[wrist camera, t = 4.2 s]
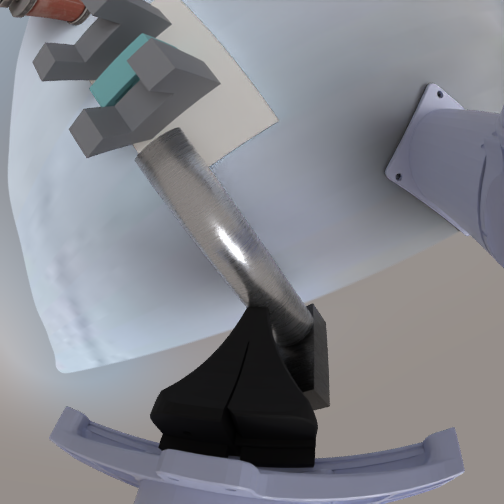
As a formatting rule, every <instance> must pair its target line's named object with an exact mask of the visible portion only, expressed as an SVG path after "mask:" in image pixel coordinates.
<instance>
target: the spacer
mask: <svg viewBox="0 0 504 504" xmlns="http://www.w3.org/2000/svg"><path fill="white" fill-rule="evenodd" d="M150 38H153V39H155V40H158V41H160V42H163V41H161V40H159V39H156V38H154V37H151V36H149V35H146V34H144V33H142V34H141V35H139V36H138V37H137V38H136V39H135V40H134V41H133V42H132V43H131V44H130V45H129V46H128V47H127V48H126V49H125V50H124V51H123V52H122V53H121V54H120V55H119V56H118V57H117V58H116V59H115V60H114V61H113V62H112V63H111V64H110V65H109V66H108V67H107V69H106V70H105V71H104V72H103V73H102V74H101V75H100V76H99V78H98V79H97V80H96V81H95V82H94V83H93V85H92V86H91V87H90V88H89V89H90V91H91V92H92V94H93V95H94V97H95V99H96V100H97V102H98V103H99V105H100V106H101V107H108V106H115V105H116V104H117V103H118V102H119V101H120V100H121V99H122V97H123V96H124V95H125V94H126V93H127V92H128V91H129V90H130V89H131V88H132V87H133V86H134V85H135V84H136V83H137V82H138V81H139V80H140V78H139V77H138V76H137V74H136V73H135V72H134V70H133V69H132V68H131V66H130V65H129V64H128V62H127V60H128V59H129V58H130V57H131V56H132V55H133V54H134V53H135V52H136V51H137V50H138V49H139V48H140V47H141V46H143V45H144V44H145V43H146V42H147V41H148V40H149V39H150ZM163 43H165V44H167V45H170V44H168V43H166V42H163ZM170 46H172V45H170ZM172 47H174V48H176V47H175V46H172ZM176 49H177V48H176Z"/></svg>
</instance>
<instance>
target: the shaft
mask: <svg viewBox="0 0 504 504" xmlns="http://www.w3.org/2000/svg"><path fill="white" fill-rule="evenodd" d="M135 162H136V163H137V165H138V166H139V168H140V169H141V170H142V172H143V173H144V175H145V176H146V177H147V179H148V180H149V182H150V183H151V184H152V186H153V187H154V188H155V190H156V191H157V193H158V194H159V195H160V197H161V198H162V199H163V201H164V202H165V204H166V205H167V206H168V208H169V209H170V210H171V212H172V213H173V214H174V216H175V217H176V218H177V220H178V221H179V222H180V224H181V225H182V226H183V228H184V229H185V230H186V232H187V233H188V234H189V235H190V237H191V238H192V239H193V241H194V242H195V243H196V245H197V246H198V247H199V248H200V250H201V251H202V252H203V254H204V255H205V256H206V257H207V259H208V260H209V261H210V263H211V264H212V265H213V266H214V268H215V269H216V270H217V271H218V273H219V274H220V275H221V277H222V278H223V279H224V280H225V282H226V283H227V284H228V285H229V287H230V288H231V289H232V290H233V291H234V293H235V294H236V295H237V296H238V298H239V299H240V300H241V301H242V303H243V304H244V305H245V306H246V307H248V306H252V307H267V308H269V313H270V323H271V329H272V333H273V336H274V339H275V342H276V345H277V348H278V350H279V353H280V355H281V357H282V359H283V361H284V363H285V365H286V367H287V369H288V371H289V373H290V374H291V376H292V378H293V379H294V381H295V382H296V384H297V385H298V387H299V388H300V390H301V391H302V392H303V394H304V395H305V396H306V397H307V399H308V400H309V402H310V404H311V407H312V409H313V410H317V409H321V408H325V407H329V406H330V403H329V402H330V401H329V368H328V348H327V334H326V322H325V321H324V319H323V318H322V316H321V315H320V313H319V312H318V310H317V309H316V307H315V306H314V304H310V305H308V306H305V305H304V303H303V302H302V300H301V299H300V297H299V296H298V294H297V293H296V291H295V290H294V288H293V287H292V285H291V284H290V283H289V281H288V280H287V278H286V277H285V275H284V274H283V272H282V271H281V269H280V268H279V267H278V265H277V264H276V262H275V261H274V259H273V258H272V256H271V255H270V254H269V252H268V251H267V249H266V248H265V246H264V245H263V244H262V242H261V241H260V239H259V238H258V236H257V235H256V233H255V232H254V231H253V229H252V228H251V226H250V225H249V223H248V222H247V221H246V219H245V218H244V216H243V215H242V213H241V212H240V211H239V209H238V208H237V206H236V205H235V204H234V202H233V201H232V199H231V198H230V196H229V195H228V194H227V192H226V191H225V189H224V188H223V187H222V185H221V184H220V182H219V181H218V180H217V178H216V177H215V175H214V174H213V173H212V171H211V170H210V168H209V167H208V166H207V164H206V163H205V161H204V160H203V159H202V157H201V156H200V154H199V153H198V152H197V150H196V149H195V147H194V146H193V145H192V143H191V142H190V140H189V139H188V138H187V136H186V135H185V134H184V132H183V131H182V129H181V128H180V127H177V128H174V129H172V130H170V131H168V132H166V133H164V134H162V135H161V136H159V137H158V138H156V139H155V140H154V141H152V142H151V143H150V144H149V145H147V146H146V147H145V148H144V149H143V150H142V151H141V152H140V153H139V154H138V155H137V157H136V158H135Z"/></svg>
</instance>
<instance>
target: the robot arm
mask: <svg viewBox="0 0 504 504" xmlns="http://www.w3.org/2000/svg"><path fill="white" fill-rule="evenodd" d="M438 91H439V92H440V95H441V96H440V98H439V97H438V95H437V92H438ZM399 173H400V178H399V179H398V180H396V175H397V174H399ZM385 175H386V177H387V178H388V179H390V180H391V181H393V182H394V183H396V184H397V185H399V186H400V187H402V188H403V189H405V190H406V191H408V192H409V193H411V194H412V195H414V196H415V197H416V198H418V199H419V200H421V201H422V202H423V203H425V204H426V205H428V206H429V207H430V208H432V209H433V210H434V211H436V212H437V213H438V214H440V215H441V216H442V217H443V218H445V219H446V220H447V221H449V222H450V223H451V224H452V225H454V226H455V227H456V228H457V229H458V230H460V231H461V232H462V233H463V234H465V235H466V236H469V235H471V236H472V237H473V238H474V239H475V240H476V241H477V242H478V243H479V244H480V245H481V246H482V247H483V248H484V249H485V250H486V251H487V252H488V253H489V254H490V255H491V256H492V257H493V258H494V259H495V260H496V261H497V262H498V263H499V264H500V265H501V266H502V267H503V268H504V106H503V109H502V111H501V113H500V114H499V113H492V112H484V111H474V110H465V109H464V108H463V107H462V106H461V105H460V104H459V103H458V102H457V101H456V100H454V99H453V98H452V97H451V96H450V95H449V94H448V93H446V92H445V91H444V90H443V89H442V88H440V87H439V86H438V85H437V84H435V83H430V84H428V85H427V87H426V89H425V91H424V94H423V96H422V98H421V100H420V102H419V105H418V107H417V109H416V111H415V113H414V115H413V117H412V119H411V121H410V123H409V125H408V127H407V129H406V131H405V133H404V135H403V137H402V139H401V141H400V143H399V145H398V147H397V149H396V151H395V153H394V155H393V157H392V159H391V160H390V162H389V164H388V166H387V168H386V170H385ZM150 418H151V420H152V421H153V423H154V424H155V425H156V426H157V428H158V429H159V430H160V431H161V432H162V433H163V435H162V438H161V441H160V443H157V442H153V441H149V440H146V439H142V438H139V437H135V436H132V435H129V434H126V433H122V432H120V431H117V430H113V429H111V428H108V427H105V426H102V425H100V424H97V423H95V422H92V421H90V420H89V419H88V417H87V416H85V415H84V414H83V413H81V412H80V411H77V410H75V409H73V408H71V407H68V406H66V408H65V409H64V411H63V413H62V414H61V417H60V418H59V420H58V422H57V424H56V425H55V428H54V429H53V431H52V433H51V435H50V437H49V439H50V440H51V441H52V442H53V443H55V444H56V445H57V446H58V447H60V448H61V449H62V450H64V451H65V452H67V453H68V454H69V455H71V456H72V457H74V458H75V459H77V460H79V461H81V462H83V463H84V464H86V465H88V466H90V467H92V468H94V469H96V470H98V471H101V472H103V473H105V474H107V475H109V476H111V477H113V478H116V479H118V480H120V481H123V482H125V483H127V484H130V485H132V486H135V487H137V488H139V489H138V492H137V495H136V498H135V501H134V504H385V503H389V502H393V501H397V500H401V499H404V498H407V497H411V496H414V495H418V494H421V493H424V492H427V491H430V490H433V489H435V488H438V487H440V486H442V485H444V484H446V483H447V482H449V481H451V480H453V479H454V478H456V477H457V476H459V475H461V474H462V473H464V471H465V470H464V465H463V460H462V455H461V451H460V447H459V442H458V439H457V434H456V431H455V428H454V427H452V428H449V429H446V430H443V431H440V432H436V433H434V434H431V435H429V436H428V437H427V438H426V439H425V440H424V441H423V442H421V443H417V444H413V445H409V446H405V447H400V448H395V449H391V450H385V451H380V452H374V453H367V454H360V455H353V456H344V457H332V458H318V459H317V458H316V459H315V446H316V434H317V429H318V425H317V420H316V417H315V414H314V411H313V409H312V407H311V404H310V402H309V400H308V399H307V397H306V396H305V395H304V394H303V392H302V391H301V390H300V388H299V387H298V385H297V384H296V382H295V381H294V379H293V378H292V376H291V374H290V373H289V371H288V369H287V367H286V365H285V363H284V361H283V359H282V357H281V355H280V353H279V350H278V348H277V345H276V342H275V339H274V336H273V333H272V329H271V323H270V313H269V308H267V307H252V306H248V307H247V309H246V311H245V312H244V314H243V316H242V317H241V319H240V320H239V322H238V323H237V325H236V326H235V328H234V329H233V331H232V332H231V333H230V335H229V336H228V337H227V339H226V340H225V341H224V342H223V343H222V345H221V346H220V347H219V348H218V349H217V350H216V351H215V352H214V353H213V354H212V355H211V356H210V357H209V358H208V359H207V360H206V361H205V362H204V363H203V364H201V365H200V366H199V367H198V368H197V369H195V370H194V371H193V372H191V373H190V374H189V375H187V376H186V377H184V378H183V379H181V380H180V381H178V382H177V383H175V384H173V385H171V386H169V387H168V388H166V389H164V390H162V391H161V392H160V394H159V396H158V397H157V399H156V402H155V404H154V406H153V409H152V412H151V414H150Z"/></svg>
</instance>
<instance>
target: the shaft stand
mask: <svg viewBox="0 0 504 504" xmlns="http://www.w3.org/2000/svg"><path fill="white" fill-rule="evenodd" d="M81 1H82V2H83V4H84V5H85V6H86V8H87V9H88V10H89V12H90V13H91V14H92V15H93V16H96V17H98V19H97V20H96V21H95V22H94V23H93V24H92V25H91V26H90V27H89V28H88V29H87V31H86V32H85V33H84V34H83V35H82V36H81V38H80V39H79V40H78V41H77V42H76V44H75V45H68V44H58V43H45V44H44V45H43V47H42V48H41V50H40V51H39V53H38V54H37V56H36V57H35V59H34V60H33V64H34V67H35V69H36V71H37V73H38V75H39V77H40V79H41V80H42V81H58V80H89V81H90V82H91V84H92V85H93V83H94V82H95V81H96V80H97V79H98V78H99V76H100V75H101V74H102V73H103V72H104V71H105V70H106V69H107V67H108V66H109V65H110V64H111V63H112V62H113V61H114V60H115V59H116V58H117V57H118V56H119V55H120V54H121V53H122V52H123V51H124V50H125V49H126V48H127V47H128V46H129V45H130V44H131V43H132V42H133V41H134V40H135V39H136V38H137V37H138V36H139V35H141V34H142V33H144V34H146V35H149V36H151V37H154V38H156V39H159V40H161V41H163V42H166V43H168V44H170V45H172V46H175V47H176V48H177V49H176V48H174V47H172V46H170V45H167V44H165V43H163V42H160V41H158V40H155V39H153V38H150V39H149V40H148V41H147V42H146V43H145V44H144V45H143V46H141V47H140V48H139V49H138V50H137V51H136V52H135V53H134V54H133V55H132V56H131V57H130V58H129V59H128V60H127V62H128V64H129V65H130V66H131V68H132V69H133V70H134V72H135V73H136V74H137V76H138V77H139V78H140V80H139V81H138V82H137V83H136V84H135V85H134V86H133V87H132V88H131V89H130V90H129V91H128V92H127V93H126V94H125V95H124V96H123V97H122V99H121V100H120V101H119V102H118V103H117V104H116V105H115V106H108V107H96V108H87V109H83V111H82V112H81V113H80V115H79V116H78V117H77V119H76V120H75V121H74V123H73V124H72V126H71V127H70V128H69V130H70V132H71V134H72V135H73V137H74V139H75V140H76V142H77V144H78V145H79V147H80V148H81V150H82V151H83V153H84V155H85V156H86V158H89V157H92V156H95V155H98V154H101V153H104V152H107V151H111V150H114V149H117V148H121V147H124V146H128V145H131V144H132V145H133V146H134V147H135V149H136V150H137V152H138V153H140V152H141V151H142V150H143V149H144V148H145V147H146V146H147V145H149V144H150V143H151V142H152V141H154V140H155V139H156V138H158V137H159V136H161V135H162V134H164V133H166V132H168V131H170V130H172V129H174V128H177V127H180V128H181V129H182V131H183V132H184V134H185V135H186V136H187V138H188V139H189V140H190V142H191V143H192V145H193V146H194V147H195V149H196V150H197V152H198V153H199V154H200V156H201V157H202V159H203V160H204V161H205V163H206V164H207V166H208V167H209V166H211V165H212V164H214V163H215V162H217V161H218V160H219V159H221V158H222V157H224V156H225V155H227V154H228V153H230V152H231V151H233V150H234V149H236V148H237V147H239V146H240V145H242V144H243V143H245V142H246V141H248V140H249V139H251V138H252V137H254V136H256V135H257V134H259V133H260V132H262V131H263V130H265V129H267V128H268V127H270V126H272V125H273V124H275V123H276V122H278V121H279V120H278V118H277V117H276V115H275V114H274V112H273V111H272V109H271V108H270V107H269V105H268V104H267V102H266V101H265V100H264V98H263V97H262V95H261V94H260V93H259V91H258V90H257V89H256V87H255V86H254V85H253V83H252V82H251V81H250V79H249V78H248V77H247V75H246V74H245V73H244V72H243V70H242V69H241V68H240V66H239V65H238V64H237V63H236V61H235V60H234V59H233V58H232V56H231V55H230V54H229V53H228V52H227V50H226V49H225V48H224V47H223V46H222V44H221V43H220V42H219V41H218V40H217V39H216V37H215V36H214V35H213V34H212V33H211V32H210V31H209V29H208V28H207V27H206V26H205V25H204V24H203V23H202V22H201V20H200V19H199V18H198V17H197V16H196V15H195V14H194V13H193V12H192V11H191V10H190V9H189V8H188V7H187V6H186V5H185V4H184V3H183V2H182V0H154V1H153V2H152V3H151V4H149V3H147V2H145V1H143V0H81Z"/></svg>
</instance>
